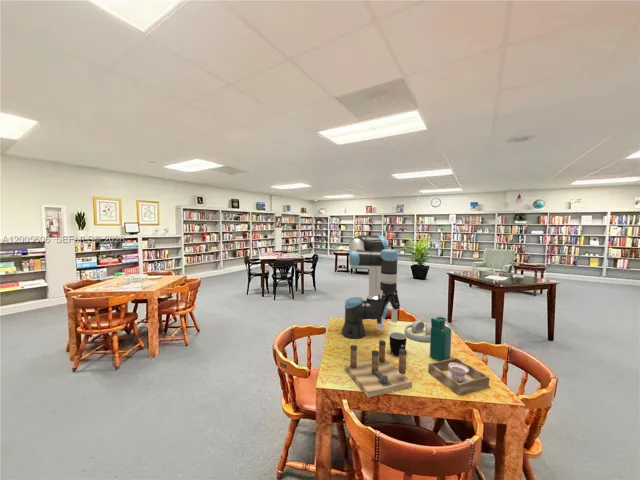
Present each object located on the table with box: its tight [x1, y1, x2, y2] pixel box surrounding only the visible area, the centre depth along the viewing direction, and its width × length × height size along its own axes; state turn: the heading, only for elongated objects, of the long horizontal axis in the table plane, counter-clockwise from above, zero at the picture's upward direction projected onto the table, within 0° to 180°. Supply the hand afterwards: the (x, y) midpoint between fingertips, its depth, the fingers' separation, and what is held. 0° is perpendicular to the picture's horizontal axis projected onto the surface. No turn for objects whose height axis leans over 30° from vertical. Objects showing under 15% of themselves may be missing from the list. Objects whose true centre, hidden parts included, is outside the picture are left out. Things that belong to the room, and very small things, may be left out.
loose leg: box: [398, 348, 408, 375], centre depth 115 cm, size 3×3×10 cm
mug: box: [389, 331, 407, 357], centre depth 144 cm, size 12×9×10 cm
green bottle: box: [429, 316, 452, 362], centre depth 138 cm, size 10×8×22 cm
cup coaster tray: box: [427, 357, 490, 396], centre depth 120 cm, size 18×18×4 cm
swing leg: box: [371, 350, 388, 384], centre depth 116 cm, size 11×3×10 cm, turn 20°
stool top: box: [344, 339, 413, 399], centre depth 120 cm, size 22×22×12 cm
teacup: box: [444, 363, 472, 383], centre depth 119 cm, size 12×12×6 cm
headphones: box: [404, 319, 432, 343], centre depth 167 cm, size 18×8×20 cm
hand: (387, 325), depth 124 cm, fingers open, 13 cm apart
